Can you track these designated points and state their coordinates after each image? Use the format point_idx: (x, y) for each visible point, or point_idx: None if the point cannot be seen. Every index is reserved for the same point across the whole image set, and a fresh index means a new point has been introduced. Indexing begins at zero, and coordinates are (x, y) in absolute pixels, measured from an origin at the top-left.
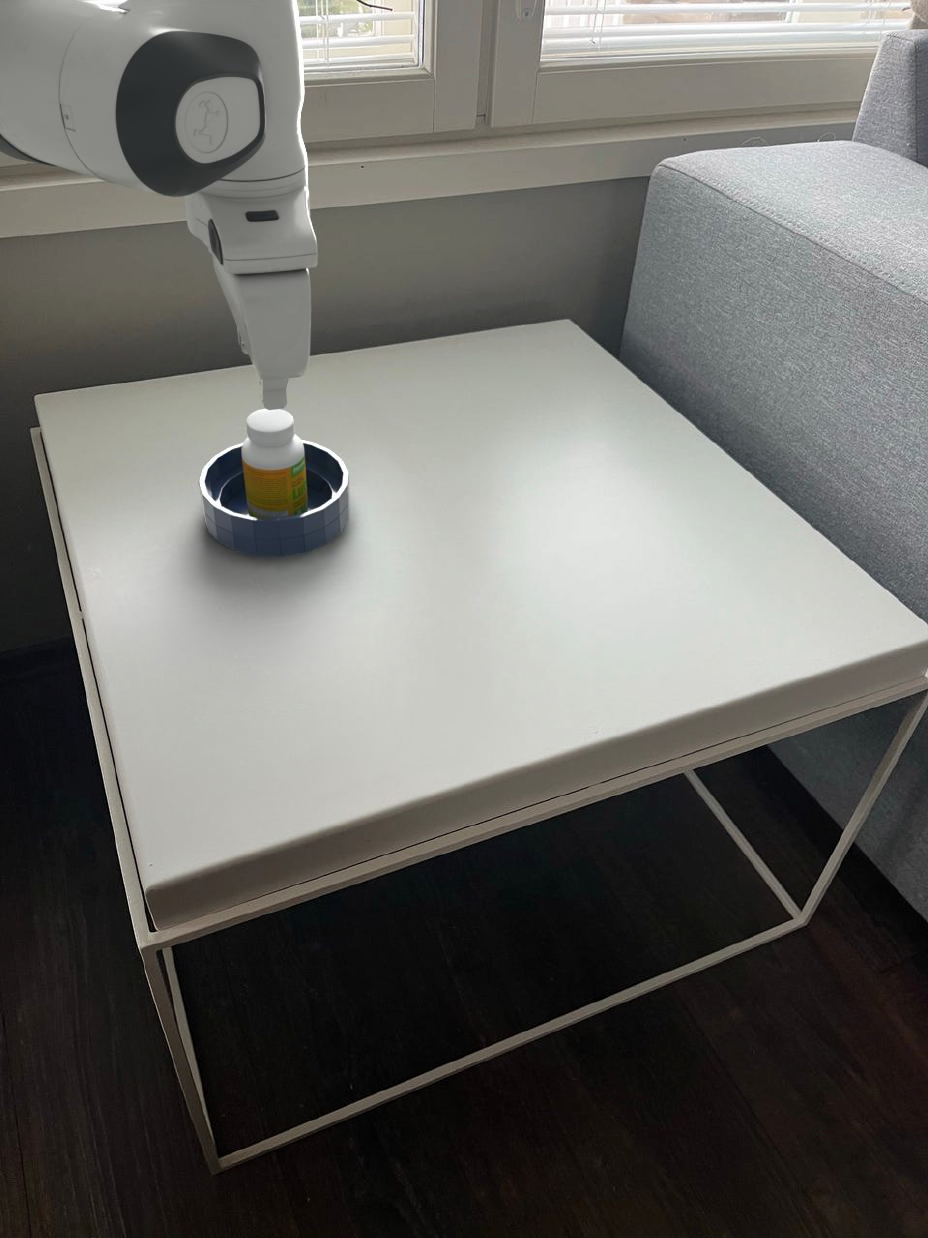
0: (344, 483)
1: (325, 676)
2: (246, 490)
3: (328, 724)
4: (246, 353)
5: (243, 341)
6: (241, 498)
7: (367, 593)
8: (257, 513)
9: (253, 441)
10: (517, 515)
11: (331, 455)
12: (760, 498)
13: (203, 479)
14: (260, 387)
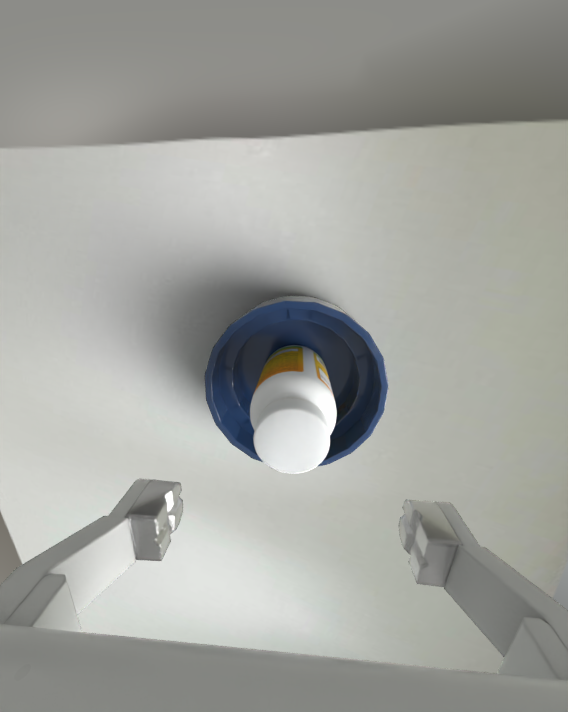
0: (256, 457)
1: (64, 348)
2: (293, 354)
3: (10, 334)
4: (405, 503)
5: (82, 645)
6: (334, 344)
7: (162, 411)
8: (274, 354)
9: (274, 400)
10: (234, 546)
11: None
12: None
13: (319, 309)
14: (151, 508)
